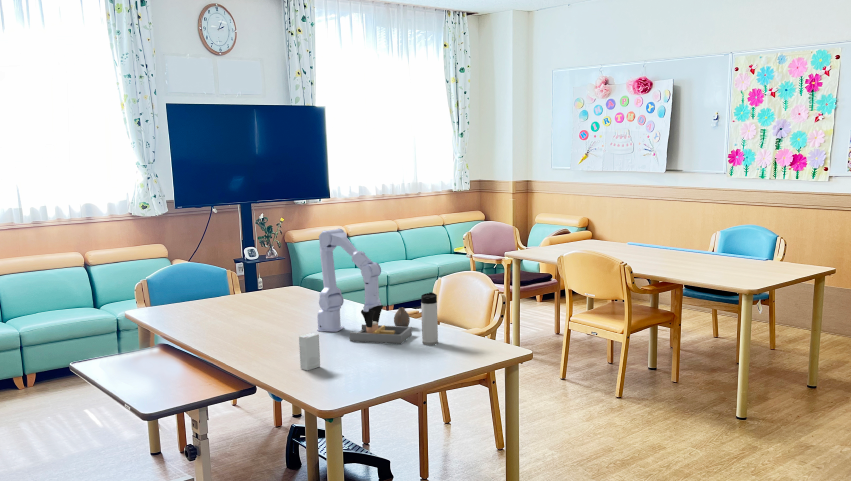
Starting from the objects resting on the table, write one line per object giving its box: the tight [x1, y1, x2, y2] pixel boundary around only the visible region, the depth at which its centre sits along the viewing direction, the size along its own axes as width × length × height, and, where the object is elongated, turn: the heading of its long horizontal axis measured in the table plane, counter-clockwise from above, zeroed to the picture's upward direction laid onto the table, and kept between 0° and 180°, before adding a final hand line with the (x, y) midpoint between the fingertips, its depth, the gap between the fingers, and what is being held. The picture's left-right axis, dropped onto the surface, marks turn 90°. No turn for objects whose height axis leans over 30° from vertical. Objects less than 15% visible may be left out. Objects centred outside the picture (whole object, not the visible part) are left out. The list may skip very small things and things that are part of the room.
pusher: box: [373, 324, 395, 334], centre depth 281 cm, size 7×11×3 cm, turn 163°
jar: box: [366, 321, 379, 333], centre depth 283 cm, size 5×5×6 cm
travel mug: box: [420, 291, 439, 346], centre depth 272 cm, size 6×7×20 cm
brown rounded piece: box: [393, 307, 411, 327], centre depth 298 cm, size 7×7×9 cm
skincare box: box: [298, 332, 321, 371], centre depth 244 cm, size 6×4×12 cm
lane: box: [349, 324, 413, 345], centre depth 282 cm, size 22×14×4 cm, turn 73°
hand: (372, 324), depth 283 cm, fingers open, 7 cm apart
